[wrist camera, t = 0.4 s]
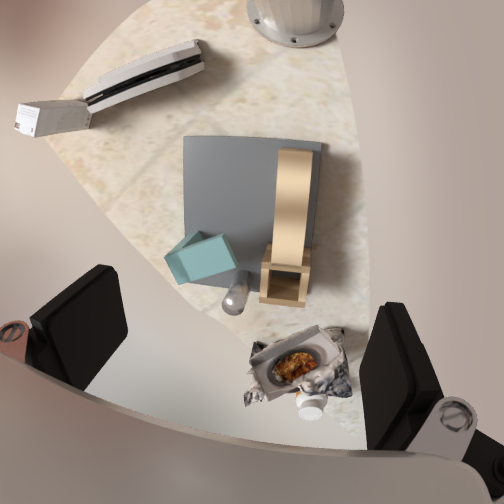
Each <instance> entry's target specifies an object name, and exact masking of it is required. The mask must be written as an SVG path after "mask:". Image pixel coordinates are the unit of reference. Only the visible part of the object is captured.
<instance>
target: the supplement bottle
mask: <svg viewBox="0 0 504 504" xmlns="http://www.w3.org/2000/svg"><path fill="white" fill-rule="evenodd" d="M327 399H328V396H327V397H324V395H313V396H307V395H304V394H302V393H301V392H297V394H296V404H297V406H298V407H299V413H298V414H299V416H300V417H301V418H302V419H304V420H309V421H310V420H311V421H312V420H317V419H319V418H320V417H322V415H323V408H324V407H325V406H326V404H327Z"/></svg>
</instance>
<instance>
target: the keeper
mask: <svg viewBox="0 0 504 504" xmlns="http://www.w3.org/2000/svg"><path fill="white" fill-rule="evenodd" d="M164 258H165V260H166V262H167V264H168V266H169V268H170V270H171V272H172V274H173V276H174V278H175V280H176V281H177V283H178V285H181V284H184V283H187V282H191V281H194V280H197V279H201V278H204V277H207V276H210V275H214V274H217V273H220V272H224V271H227V270H230V269H234V268H236V267H237V265H238V262H237V259H236V257H235V255H234V253H233V251H232V248H231V246H230V244H229V242H228V240H227V237H226V235H225V233H223V234H220V235H217V236H214V237H212V238H209V239H206V240H203V238H202V236H201V234H200V232H199V231H196V232H194V233H191V234H189V235H187V236H186V237H185V238H184V239H183V240H181V241H180V242H179V243H178V244H177V245H176V246H175V247H174V248H173V249H172V250H171V251H170V252H169V253H168V254H167V255H166V256H165V257H164Z"/></svg>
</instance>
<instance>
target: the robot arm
mask: <svg viewBox="0 0 504 504" xmlns="http://www.w3.org/2000/svg"><path fill="white" fill-rule="evenodd" d="M247 14H248V17H249V20H250V22H251V24H252V25H253V27H254V28H255V29H256V31H257V32H258V33H260V34H261V35H262V36H263V37H265V38H266V39H268V40H269V41H271V42H274V43H276V44H279V45H283V46H287V47H296V48H297V47H309V46H314V45H317V44H319V43H322V42H324V41H326V40H327V39H329V38H330V37H332V36H333V35H334V34H335V33H336V32H337V30H338V29H339V27H340V25H341V23H342V20H343V16H344V5H343V2H342V0H247ZM257 22H260V23H259V24H257ZM331 26H333V27H334V28H330V27H331ZM293 41H296V43H293ZM30 321H31V324H32V326H33V327H32V328H31V329H29V326H28V325H27V323H25V322H24V321H20V320H17V321H11V322H9V323H6V324H4V325H3V326H2V327H0V504H504V446H503V445H502V444H500V443H498V442H497V441H495V440H493V439H492V438H490V437H488V436H487V435H485V434H483V433H482V432H480V431H479V430H477V429H476V426H477V414H476V412H475V410H474V408H473V407H472V406H471V405H470V404H469V403H468V402H466V401H465V400H463V399H461V398H458V397H445V398H444V395H443V392H442V390H441V387H440V384H439V382H438V379H437V376H436V374H435V371H434V369H433V366H432V364H431V362H430V359H429V356H428V354H427V352H426V349H425V347H424V345H423V344H422V343H421V341H420V338H419V336H418V334H417V332H416V329H415V327H414V325H413V323H412V320H411V318H410V316H409V314H408V312H407V310H406V308H405V305H404V304H403V303H397V302H386V304H385V306H380V307H379V310H378V314H377V317H376V320H375V323H374V327H373V330H372V333H371V336H370V339H369V342H368V345H367V348H366V351H365V354H364V356H363V359H362V362H361V365H360V369H359V377H360V385H361V392H362V401H363V409H364V418H365V428H366V439H367V450H342V449H324V448H311V447H299V446H290V445H281V444H273V443H266V442H259V441H253V440H246V439H241V438H235V437H230V436H225V435H220V434H215V433H211V432H206V431H202V430H198V429H193V428H190V427H186V426H182V425H178V424H175V423H171V422H168V421H164V420H161V419H158V418H154V417H151V416H148V415H145V414H142V413H139V412H136V411H133V410H130V409H127V408H124V407H121V406H119V405H116V404H114V403H111V402H108V401H106V400H103V399H101V398H98V397H96V396H93V395H91V394H88V393H86V392H84V390H85V389H86V388H87V386H88V385H89V384H90V382H91V381H92V380H93V379H94V377H95V376H96V375H97V373H98V372H99V371H100V370H101V368H102V367H103V366H104V365H105V363H106V362H107V361H108V359H109V358H110V357H111V356H112V354H113V353H114V352H115V351H116V349H117V348H118V347H119V346H120V344H121V343H122V342H123V340H125V338H126V337H127V334H128V327H127V322H126V318H125V313H124V308H123V302H122V297H121V292H120V286H119V279H118V274H117V272H116V271H115V270H114V268H113V267H112V266H107V265H101V264H99V265H97V266H95V267H94V268H93V269H91V270H90V271H88V272H87V273H86V274H84V275H83V276H82V277H80V278H79V279H78V280H76V281H75V282H74V283H72V284H71V285H70V286H68V287H67V288H66V289H65V290H63V291H62V292H61V293H59V294H58V295H57V296H56V297H54V298H53V299H52V300H51V301H49V302H48V303H47V304H46V305H44V306H43V307H42V308H41V309H39V310H38V311H37V312H36V313H35V314H33V315H32V316H31V317H30Z"/></svg>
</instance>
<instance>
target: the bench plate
mask: <svg viewBox="0 0 504 504" xmlns="http://www.w3.org/2000/svg"><path fill="white" fill-rule="evenodd" d="M321 145H322V143H320V142H311V141H300V140H289V139H275V138H258V137H233V136H184V145H183V180H184V225H185V237H186V236H187V235H189V234H191V233H194V232H196V231H199V232H200V234H201V236H202V238H203V240H206V239H209V238H212V237H214V236H217V235H220V234H223V233H225V235H226V237H227V240H228V242H229V244H230V246H231V248H232V251H233V253H234V255H235V257H236V259H237V262H238V265H237V267H236V268H234V269H230V270H227V271H224V272H220V273H217V274H214V275H210V276H207V277H204V278H201V279H197V280H194V281H191V282H187V283H194V284H201V285H208V286H215V287H223V288H229V287H230V285H231V283H232V281H233V279H234V277H235V275H236V273H237V272H238V271H240V270H247V271H249V272H250V273H251V274H252V275H253V277H254V282H253V284H252V287H251V290H250V291H253V292H260V283H261V267H262V260H263V257H264V254H265V251H266V248H267V245H268V243H270V244H272V243H273V229H274V215H275V200H276V185H277V169H278V152H279V149H281V148H282V147H288V148H299V149H310V150H312V152H313V155H312V168H311V180H310V191H309V201H308V211H307V221H306V230H305V239H304V247H307V248H310V252H311V245H312V236H313V228H314V219H315V210H316V201H317V191H318V181H319V169H320V158H321ZM300 274H301V273H298V272H289V271H280V270H273V271H272V276H278V277H287V278H296V279H300Z"/></svg>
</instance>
